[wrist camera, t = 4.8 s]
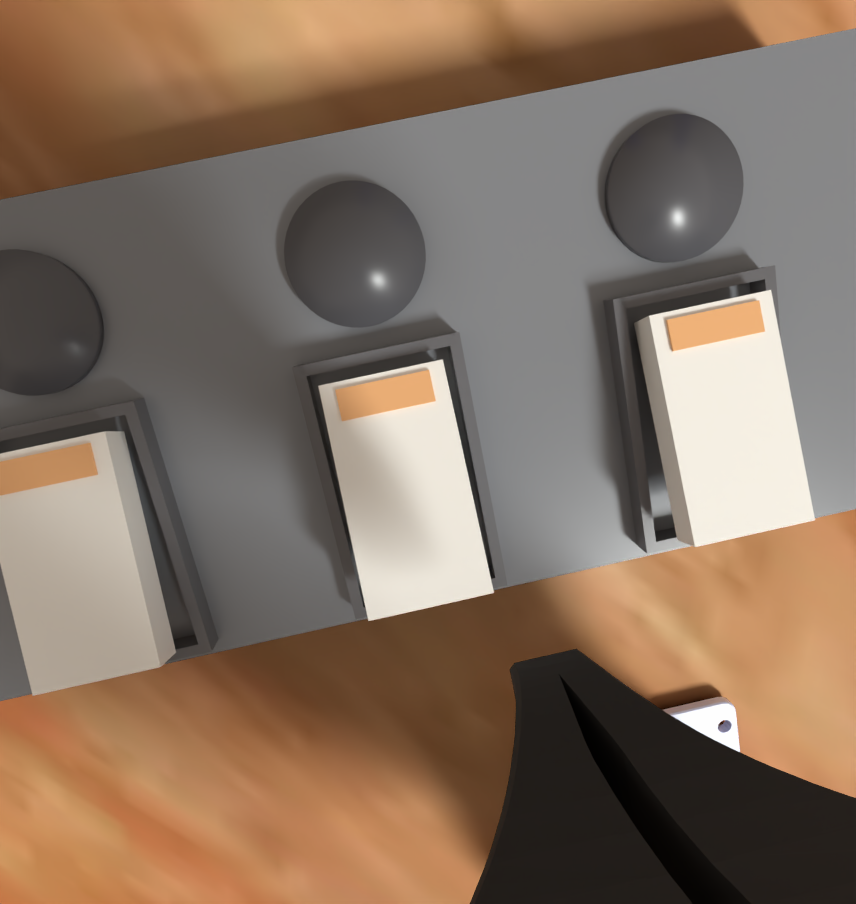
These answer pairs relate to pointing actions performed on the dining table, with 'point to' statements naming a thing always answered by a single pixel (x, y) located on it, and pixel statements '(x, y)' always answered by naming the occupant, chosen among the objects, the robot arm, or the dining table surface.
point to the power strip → (433, 320)
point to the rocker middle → (405, 490)
